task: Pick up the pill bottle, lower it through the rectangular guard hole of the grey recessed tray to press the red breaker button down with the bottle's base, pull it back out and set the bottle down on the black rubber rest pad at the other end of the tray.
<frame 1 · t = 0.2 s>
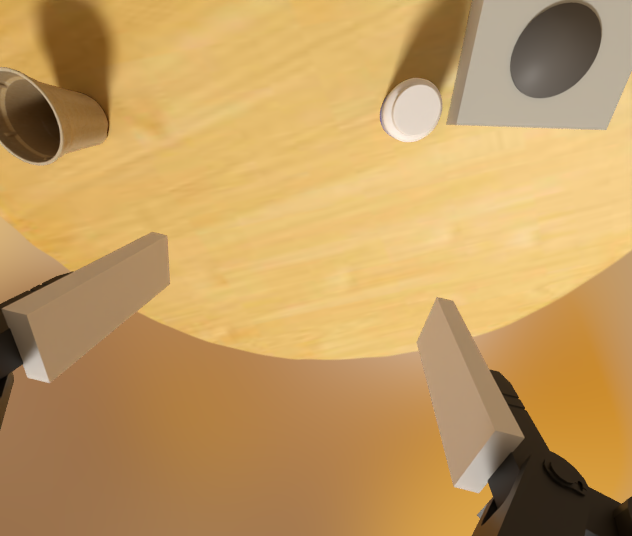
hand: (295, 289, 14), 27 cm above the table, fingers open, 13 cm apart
pill bottle: (402, 113, 34), on the table
flower pot: (88, 120, 39), on the table
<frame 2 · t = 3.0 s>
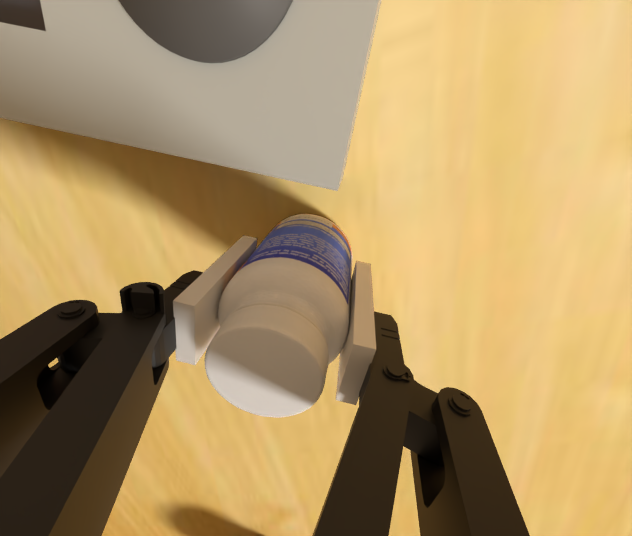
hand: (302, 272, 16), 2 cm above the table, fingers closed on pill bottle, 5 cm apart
pill bottle: (309, 253, 18), on the table, touching gripper
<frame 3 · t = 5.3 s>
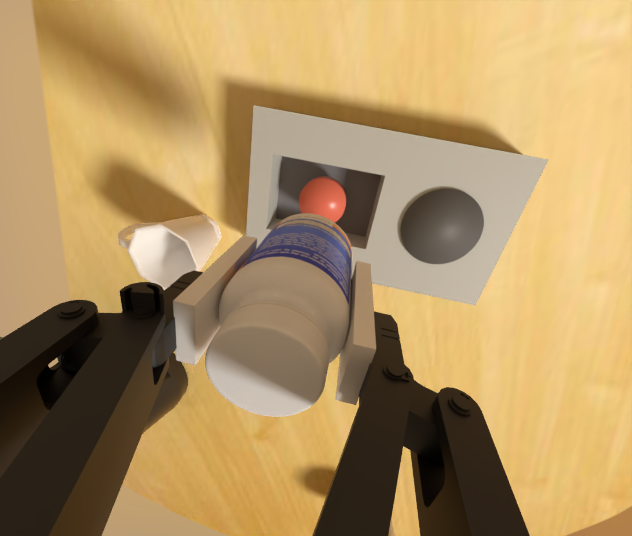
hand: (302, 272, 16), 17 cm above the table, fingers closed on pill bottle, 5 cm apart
cup: (192, 228, 35), on the table
grey recessed tray: (373, 204, 30), on the table
breaker button: (323, 201, 28), point 3 cm above the table, slide at 0.0 cm
pill bottle: (310, 253, 18), point 14 cm above the table, touching gripper
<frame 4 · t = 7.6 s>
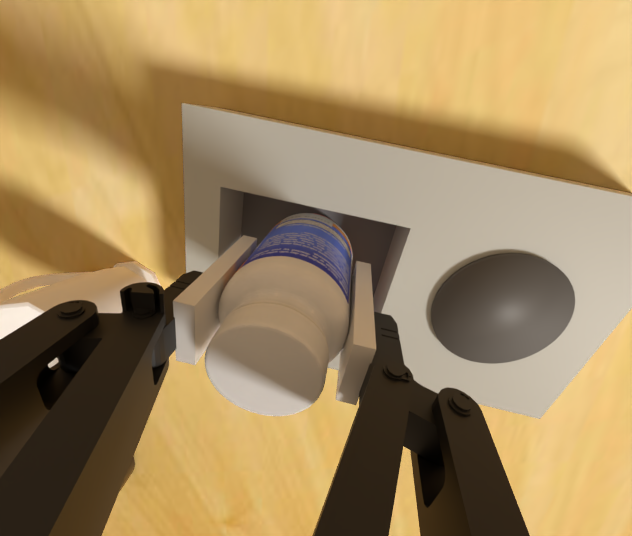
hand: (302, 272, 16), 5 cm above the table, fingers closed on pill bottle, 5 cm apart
cup: (122, 278, 24), on the table
grey recessed tray: (384, 257, 20), on the table
breaker button: (310, 250, 19), point 2 cm above the table, slide at 1.3 cm, touching pill bottle
pill bottle: (310, 253, 18), point 2 cm above the table, touching breaker button, gripper
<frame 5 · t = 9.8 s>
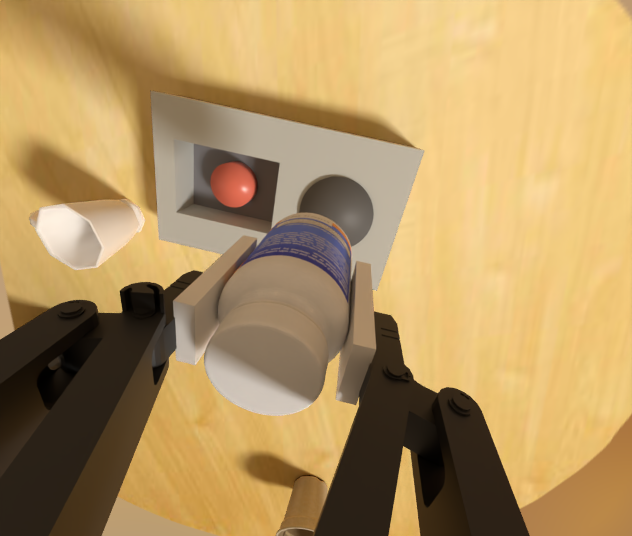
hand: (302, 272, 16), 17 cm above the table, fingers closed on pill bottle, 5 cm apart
cup: (117, 212, 35), on the table
grey recessed tray: (284, 192, 31), on the table
breaker button: (234, 184, 30), point 2 cm above the table, slide at 1.3 cm
pill bottle: (309, 252, 18), point 15 cm above the table, touching gripper
flower pot: (311, 483, 55), on the table
when the fingers open (8 cm above the table, at t = 11.5 s): pill bottle drops 1 cm, resting on grey recessed tray.
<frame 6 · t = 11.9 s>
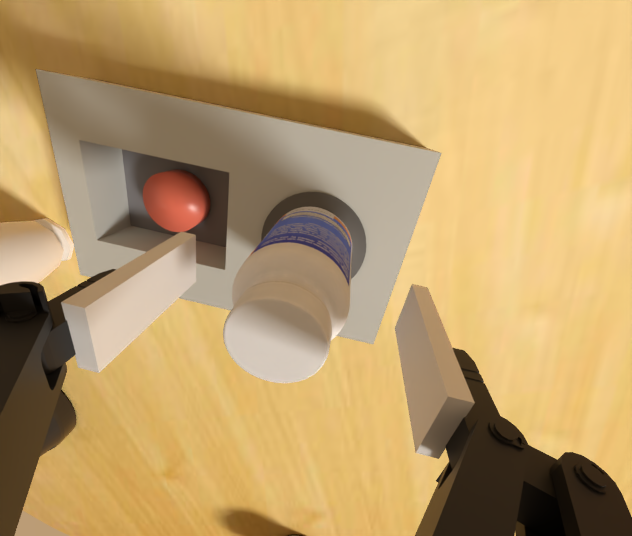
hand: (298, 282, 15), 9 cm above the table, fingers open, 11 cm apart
cup: (39, 235, 28), on the table
grey recessed tray: (247, 210, 23), on the table
breaker button: (177, 201, 22), point 2 cm above the table, slide at 1.3 cm
pill bottle: (312, 244, 19), point 4 cm above the table, touching grey recessed tray
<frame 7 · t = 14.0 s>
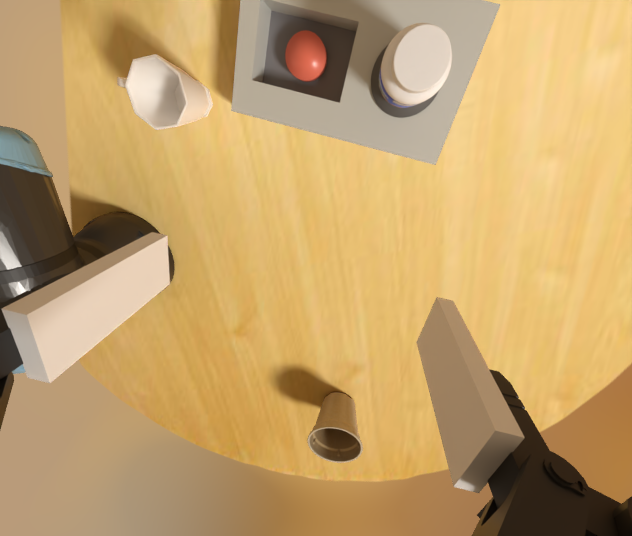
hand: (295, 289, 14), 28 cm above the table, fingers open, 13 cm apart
cup: (186, 96, 38), on the table
grey recessed tray: (351, 70, 33), on the table
breaker button: (306, 57, 32), point 2 cm above the table, slide at 1.3 cm
pill bottle: (405, 78, 29), point 4 cm above the table, touching grey recessed tray
flower pot: (339, 402, 57), on the table
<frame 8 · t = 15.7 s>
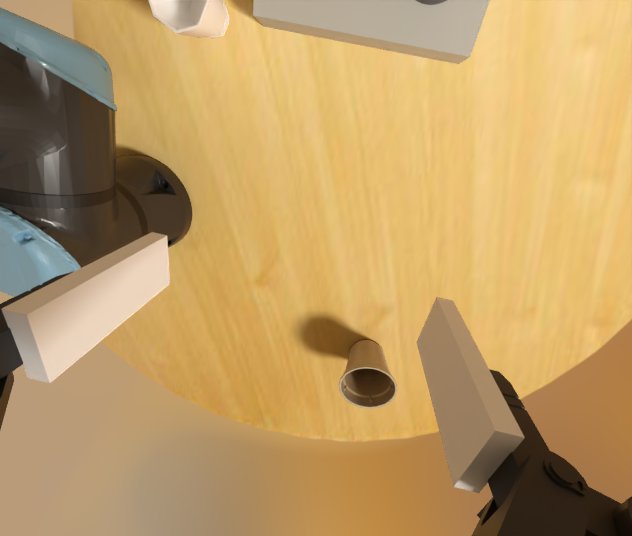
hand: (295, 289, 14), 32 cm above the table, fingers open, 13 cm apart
cup: (202, 14, 36), on the table
flower pot: (366, 351, 56), on the table
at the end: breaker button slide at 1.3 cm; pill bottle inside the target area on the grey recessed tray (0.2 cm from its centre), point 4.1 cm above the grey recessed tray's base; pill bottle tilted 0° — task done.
